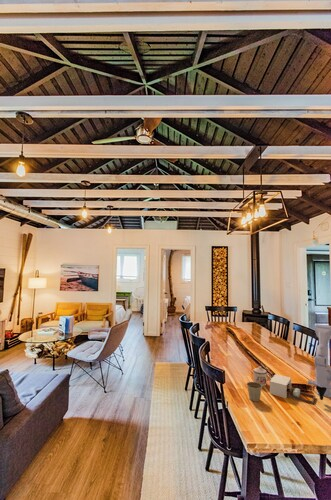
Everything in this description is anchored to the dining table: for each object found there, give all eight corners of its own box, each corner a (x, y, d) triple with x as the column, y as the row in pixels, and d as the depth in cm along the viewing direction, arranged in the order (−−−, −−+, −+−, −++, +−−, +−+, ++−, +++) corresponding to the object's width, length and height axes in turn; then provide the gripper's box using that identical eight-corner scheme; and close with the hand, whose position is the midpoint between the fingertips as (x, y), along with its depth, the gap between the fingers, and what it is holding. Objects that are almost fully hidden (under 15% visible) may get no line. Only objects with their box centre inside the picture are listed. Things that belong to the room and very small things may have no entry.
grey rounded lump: (293, 395, 169) (293, 389, 169) (299, 397, 167) (299, 391, 167) (292, 397, 166) (292, 391, 166) (298, 399, 164) (298, 393, 164)
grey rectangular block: (275, 385, 183) (275, 374, 183) (291, 390, 177) (291, 377, 177) (269, 393, 171) (269, 381, 171) (286, 398, 165) (286, 385, 166)
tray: (291, 392, 174) (291, 389, 175) (315, 399, 166) (315, 395, 166) (288, 398, 166) (288, 394, 167) (313, 405, 158) (313, 401, 158)
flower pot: (243, 397, 166) (243, 383, 166) (255, 394, 169) (255, 380, 170) (253, 404, 157) (253, 389, 158) (265, 401, 161) (265, 386, 161)
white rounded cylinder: (294, 393, 172) (294, 387, 172) (300, 394, 170) (300, 389, 170) (293, 395, 169) (293, 389, 169) (299, 397, 167) (299, 391, 167)
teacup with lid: (255, 386, 182) (255, 369, 182) (251, 380, 191) (251, 364, 191) (273, 386, 181) (272, 369, 182) (268, 381, 190) (268, 364, 191)
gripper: (306, 375, 162) (307, 398, 161) (334, 381, 154) (335, 405, 152) (308, 371, 168) (309, 393, 167) (335, 377, 159) (336, 401, 158)
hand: (321, 399), depth 160 cm, fingers closed
